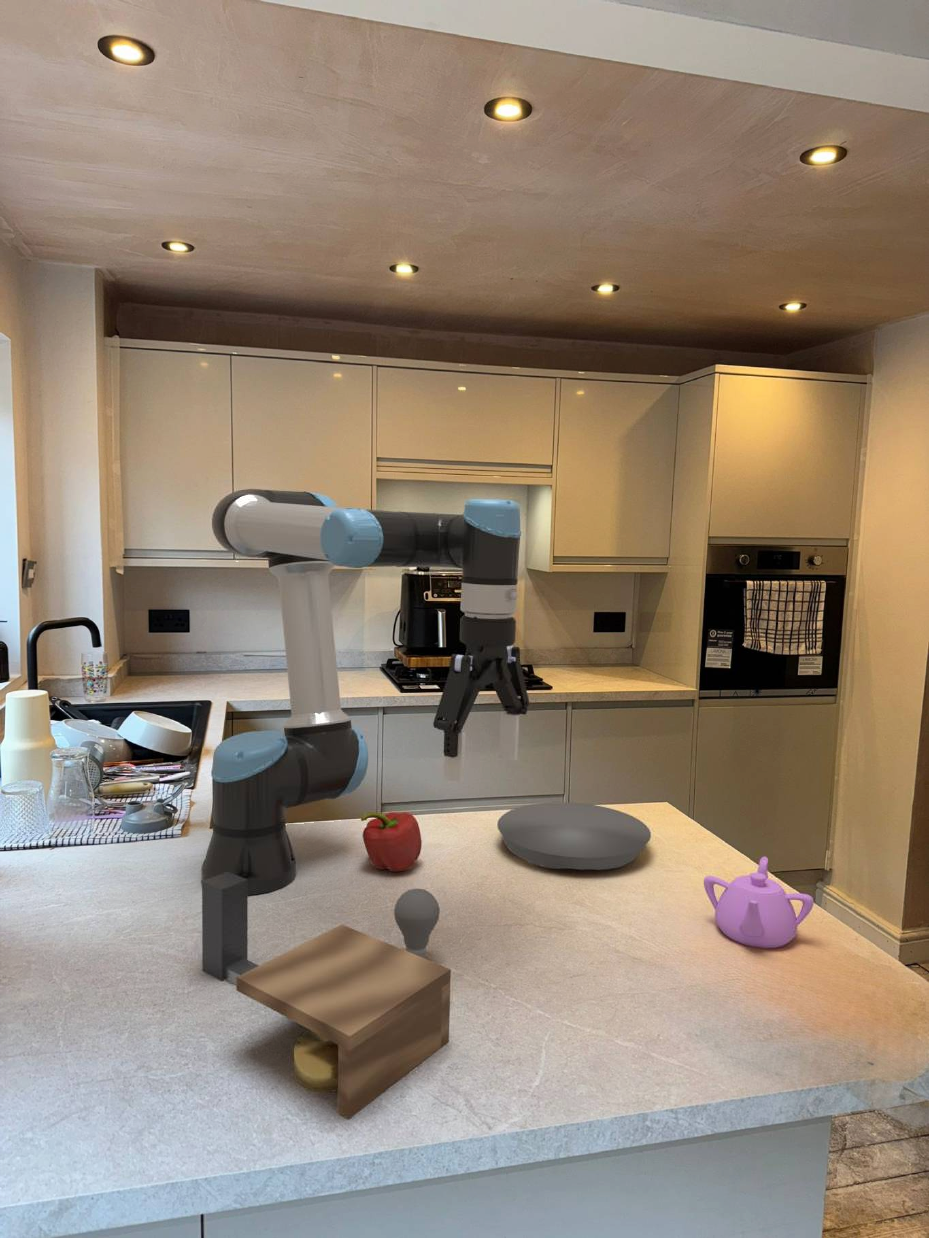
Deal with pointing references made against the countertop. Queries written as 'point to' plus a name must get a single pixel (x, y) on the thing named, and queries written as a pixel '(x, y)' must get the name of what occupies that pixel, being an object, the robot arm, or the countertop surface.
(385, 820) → the vegetable
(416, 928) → the light bulb
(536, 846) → the flat disc
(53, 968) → the countertop surface
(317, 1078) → the ball
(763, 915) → the teapot
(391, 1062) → the shelf
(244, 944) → the l-shaped hook tool
